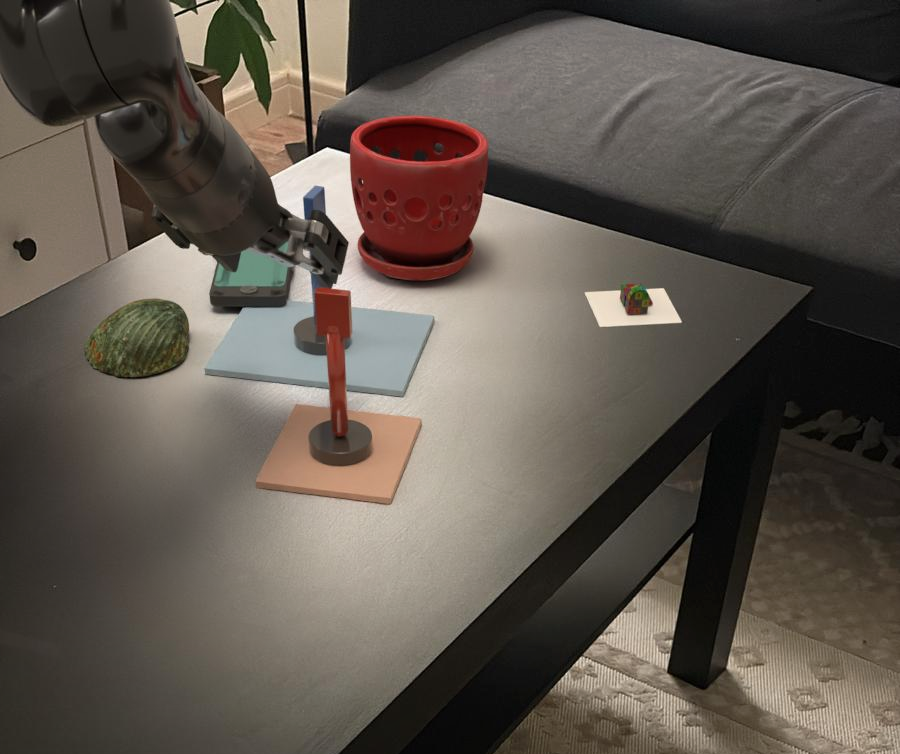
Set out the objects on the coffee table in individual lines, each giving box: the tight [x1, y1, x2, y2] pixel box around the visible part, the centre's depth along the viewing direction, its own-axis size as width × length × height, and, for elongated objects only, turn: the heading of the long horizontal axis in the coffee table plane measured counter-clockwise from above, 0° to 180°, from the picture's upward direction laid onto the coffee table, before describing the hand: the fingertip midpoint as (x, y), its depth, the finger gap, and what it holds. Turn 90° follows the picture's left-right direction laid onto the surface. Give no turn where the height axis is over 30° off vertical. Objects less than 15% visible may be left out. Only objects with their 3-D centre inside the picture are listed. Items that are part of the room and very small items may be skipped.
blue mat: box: [203, 299, 435, 398], centre depth 117 cm, size 18×14×1 cm
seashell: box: [84, 297, 190, 379], centre depth 115 cm, size 10×4×10 cm
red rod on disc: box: [308, 287, 373, 466], centre depth 100 cm, size 5×5×13 cm
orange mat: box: [254, 403, 422, 505], centre depth 105 cm, size 11×12×1 cm
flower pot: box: [349, 115, 489, 281], centre depth 125 cm, size 13×13×12 cm
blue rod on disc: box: [293, 185, 352, 355], centre depth 112 cm, size 5×5×13 cm
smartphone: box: [208, 240, 294, 307], centre depth 126 cm, size 7×1×15 cm
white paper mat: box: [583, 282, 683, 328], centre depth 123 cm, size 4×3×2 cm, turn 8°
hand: (282, 268), depth 105 cm, fingers open, 8 cm apart
